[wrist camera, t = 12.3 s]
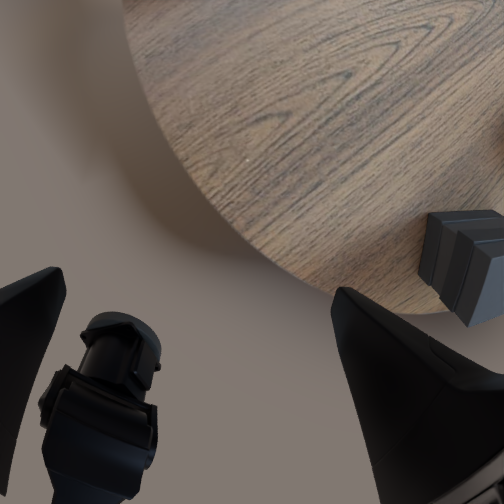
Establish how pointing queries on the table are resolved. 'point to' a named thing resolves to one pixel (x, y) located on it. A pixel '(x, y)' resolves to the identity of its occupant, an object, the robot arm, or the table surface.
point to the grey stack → (466, 262)
